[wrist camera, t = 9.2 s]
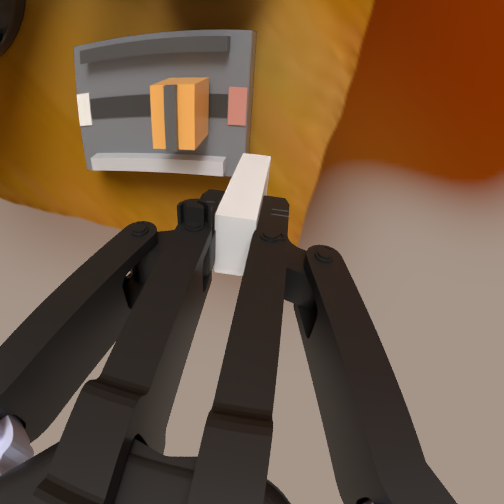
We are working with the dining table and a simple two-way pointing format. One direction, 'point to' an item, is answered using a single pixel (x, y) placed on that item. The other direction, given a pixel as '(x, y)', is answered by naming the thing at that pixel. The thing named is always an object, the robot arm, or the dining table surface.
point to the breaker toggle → (179, 113)
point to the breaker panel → (139, 107)
